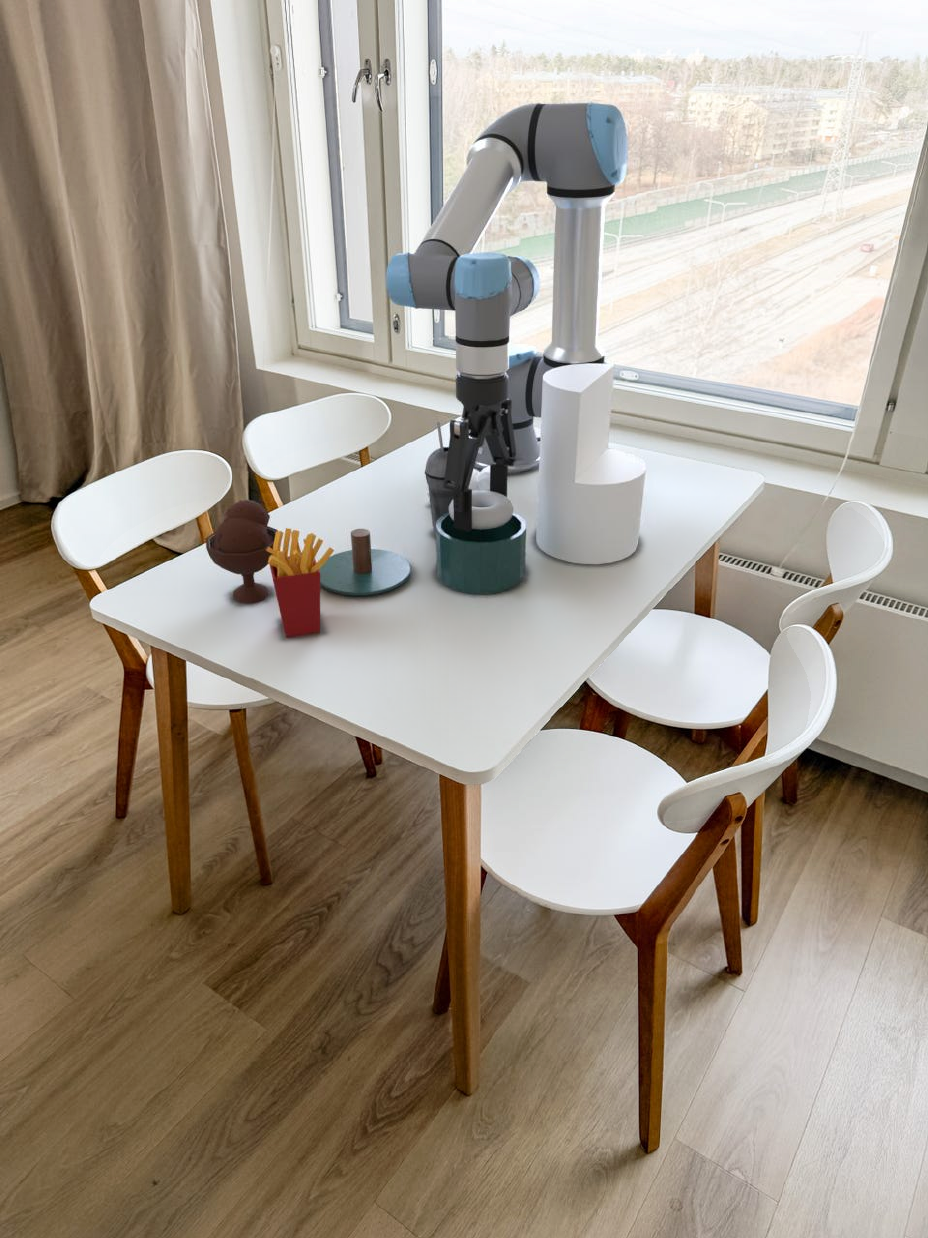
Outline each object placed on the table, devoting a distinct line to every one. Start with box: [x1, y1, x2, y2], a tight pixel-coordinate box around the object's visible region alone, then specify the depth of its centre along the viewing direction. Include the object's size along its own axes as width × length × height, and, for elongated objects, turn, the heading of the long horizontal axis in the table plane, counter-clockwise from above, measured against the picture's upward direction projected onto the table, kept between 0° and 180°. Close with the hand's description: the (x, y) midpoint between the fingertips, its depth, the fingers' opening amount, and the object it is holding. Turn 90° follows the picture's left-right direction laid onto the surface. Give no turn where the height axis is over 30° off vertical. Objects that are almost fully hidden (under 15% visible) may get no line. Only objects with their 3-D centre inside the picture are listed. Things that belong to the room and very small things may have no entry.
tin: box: [435, 512, 527, 595], centre depth 138 cm, size 14×14×8 cm
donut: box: [449, 490, 515, 530], centre depth 135 cm, size 10×3×10 cm
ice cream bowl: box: [205, 499, 279, 604], centre depth 131 cm, size 11×11×15 cm
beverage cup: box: [424, 421, 453, 537], centre depth 148 cm, size 7×7×20 cm
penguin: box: [426, 466, 490, 502], centre depth 161 cm, size 8×8×15 cm
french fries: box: [266, 527, 335, 638], centre depth 123 cm, size 9×8×15 cm
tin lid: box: [319, 528, 411, 596], centre depth 138 cm, size 15×15×8 cm
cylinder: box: [535, 363, 647, 565], centre depth 143 cm, size 17×17×28 cm
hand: (481, 516), depth 135 cm, fingers closed on donut, 10 cm apart
